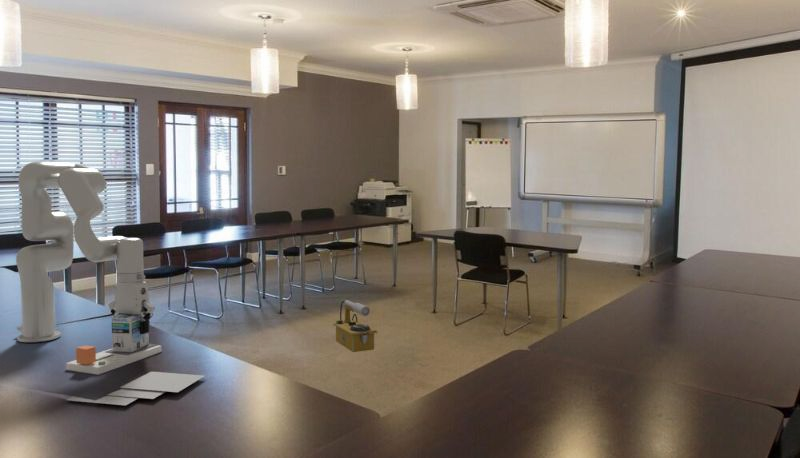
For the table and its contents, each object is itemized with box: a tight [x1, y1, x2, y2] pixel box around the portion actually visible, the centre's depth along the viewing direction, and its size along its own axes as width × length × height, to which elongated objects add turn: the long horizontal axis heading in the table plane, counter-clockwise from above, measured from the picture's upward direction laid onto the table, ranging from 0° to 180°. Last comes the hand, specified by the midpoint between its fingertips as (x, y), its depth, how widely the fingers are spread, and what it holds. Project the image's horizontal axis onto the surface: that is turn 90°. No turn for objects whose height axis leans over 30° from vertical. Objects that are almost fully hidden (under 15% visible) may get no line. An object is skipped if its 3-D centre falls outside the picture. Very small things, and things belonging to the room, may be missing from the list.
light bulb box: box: [111, 312, 150, 352], centre depth 190 cm, size 11×7×11 cm, turn 175°
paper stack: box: [66, 371, 205, 406], centre depth 160 cm, size 23×25×1 cm
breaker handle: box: [75, 344, 97, 365], centre depth 174 cm, size 4×3×4 cm
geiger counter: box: [332, 299, 379, 353], centre depth 206 cm, size 9×26×15 cm, turn 27°
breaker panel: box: [65, 343, 163, 376], centre depth 184 cm, size 12×25×3 cm, turn 160°
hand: (132, 331), depth 190 cm, fingers open, 9 cm apart
